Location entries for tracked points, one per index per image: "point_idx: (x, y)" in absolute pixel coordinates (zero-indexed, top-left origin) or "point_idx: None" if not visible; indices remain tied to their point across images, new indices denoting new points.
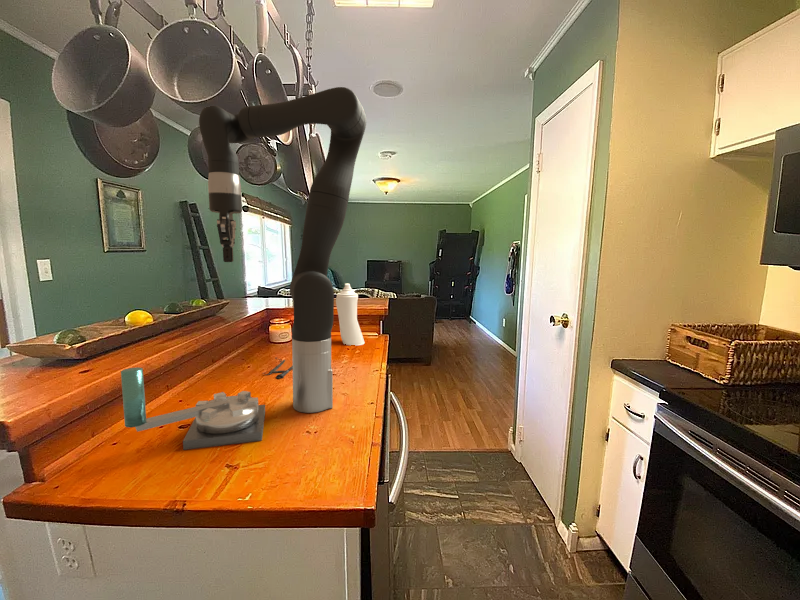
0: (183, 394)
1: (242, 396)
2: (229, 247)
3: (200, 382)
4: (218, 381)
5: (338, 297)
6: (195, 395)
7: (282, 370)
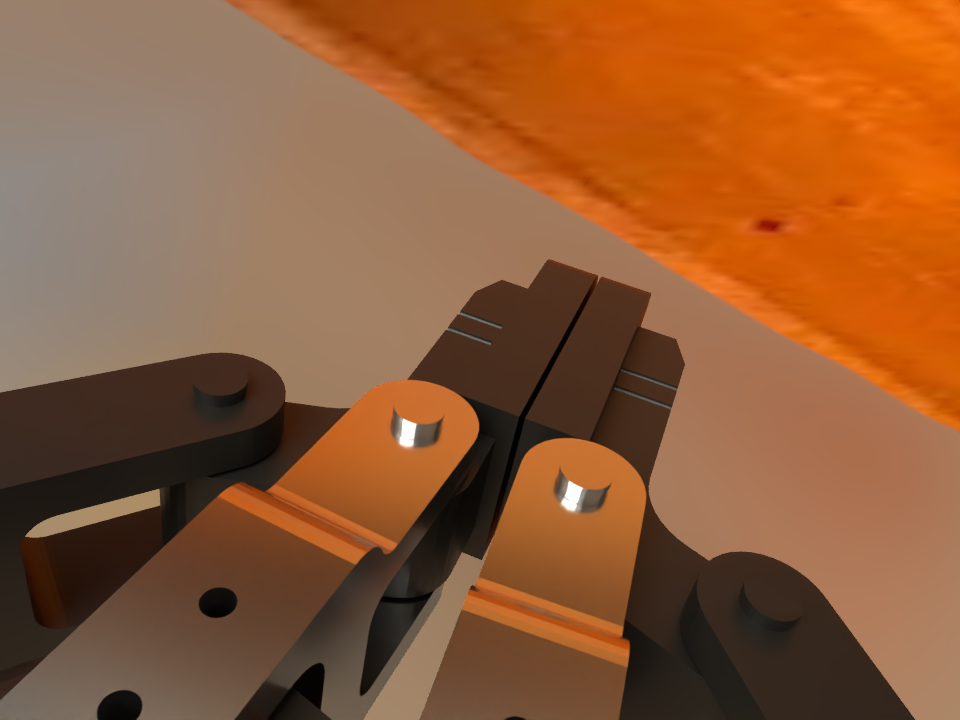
0: (683, 208)
1: None
2: (645, 507)
3: (538, 122)
4: (562, 34)
5: None
6: (729, 161)
7: None
